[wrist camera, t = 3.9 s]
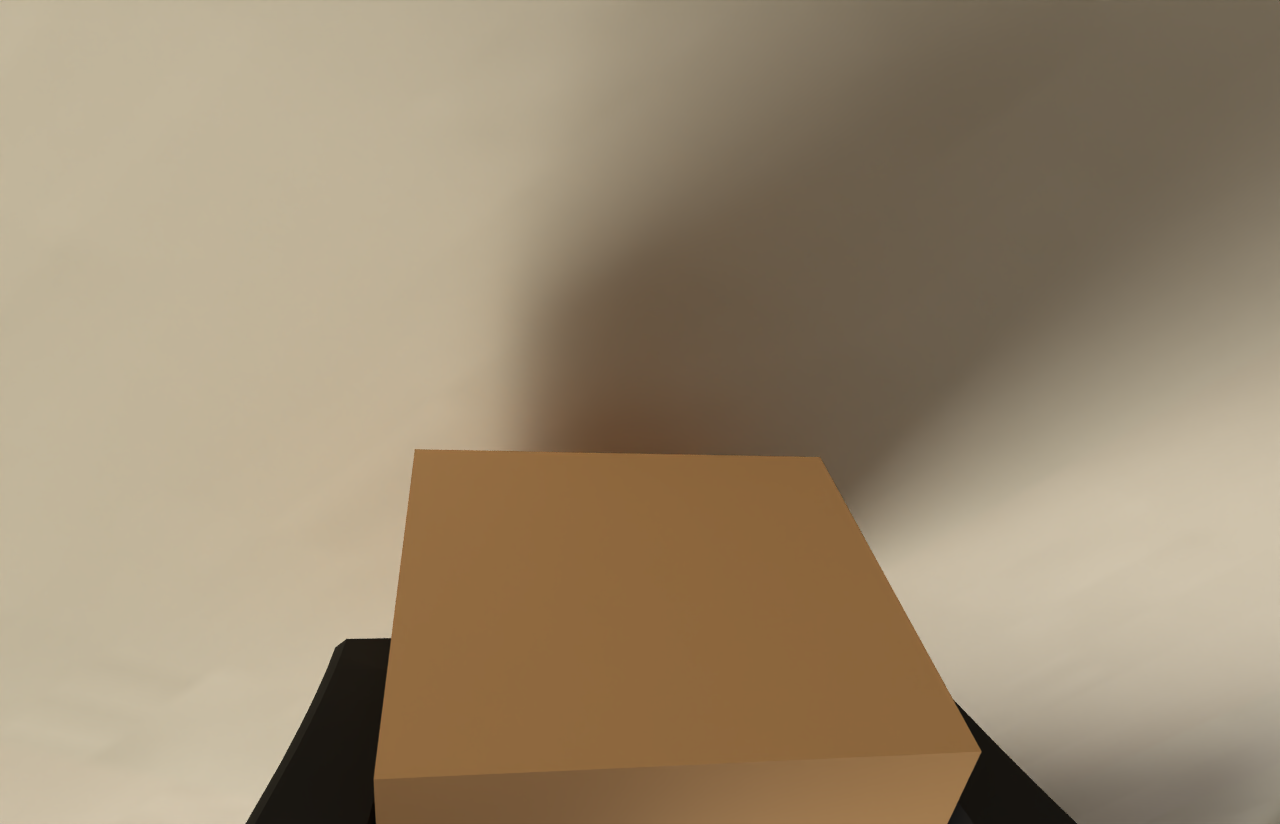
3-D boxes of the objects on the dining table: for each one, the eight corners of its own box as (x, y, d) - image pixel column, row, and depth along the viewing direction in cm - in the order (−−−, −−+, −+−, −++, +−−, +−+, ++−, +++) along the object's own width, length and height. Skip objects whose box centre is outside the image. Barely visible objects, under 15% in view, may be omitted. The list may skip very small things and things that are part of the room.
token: (820, 457, 10) (981, 752, 7) (748, 722, 13) (844, 1041, 9) (414, 449, 9) (373, 780, 6) (419, 735, 12) (388, 1089, 8)
